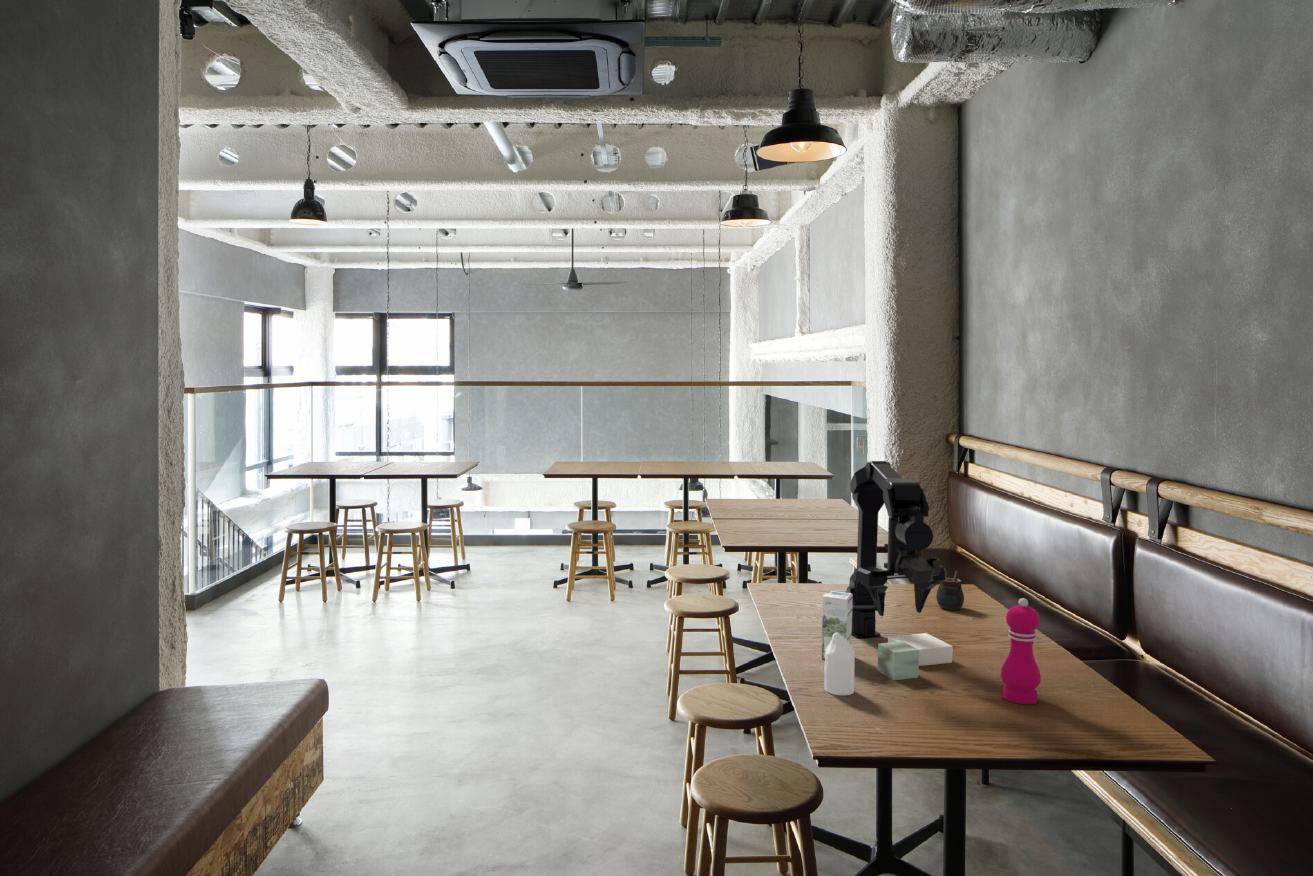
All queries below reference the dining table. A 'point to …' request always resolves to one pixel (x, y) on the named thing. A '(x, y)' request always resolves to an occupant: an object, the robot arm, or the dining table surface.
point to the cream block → (927, 648)
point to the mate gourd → (950, 594)
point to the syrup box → (836, 617)
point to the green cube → (898, 660)
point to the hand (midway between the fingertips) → (900, 614)
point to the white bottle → (839, 666)
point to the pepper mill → (1021, 656)
